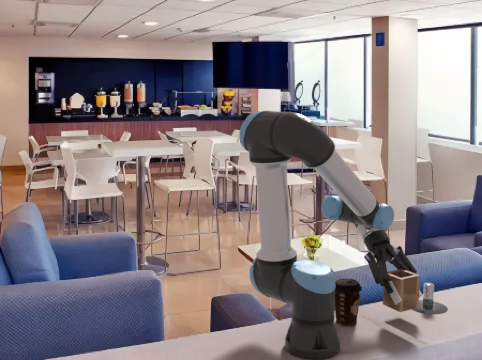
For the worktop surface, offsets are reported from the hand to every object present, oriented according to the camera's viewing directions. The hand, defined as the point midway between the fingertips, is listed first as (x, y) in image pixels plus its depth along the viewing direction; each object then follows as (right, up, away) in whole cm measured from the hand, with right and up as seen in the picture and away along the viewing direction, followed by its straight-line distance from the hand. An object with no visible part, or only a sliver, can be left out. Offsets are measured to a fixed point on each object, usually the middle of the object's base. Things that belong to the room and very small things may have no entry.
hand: (409, 299), depth 177 cm
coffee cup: (-18, -8, +5) cm, 20 cm away
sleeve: (-2, -3, +4) cm, 5 cm away
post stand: (+10, -6, +13) cm, 18 cm away
